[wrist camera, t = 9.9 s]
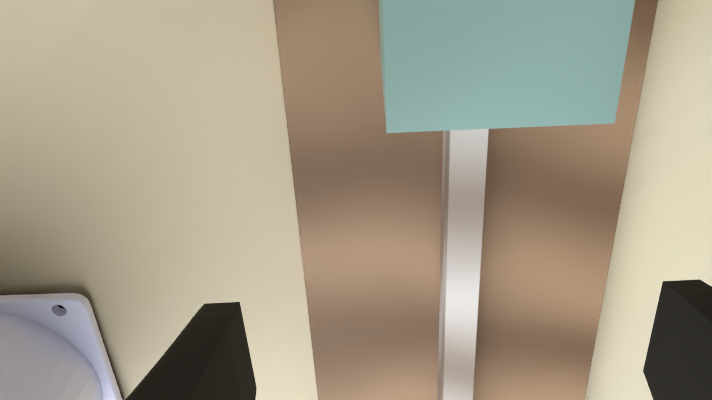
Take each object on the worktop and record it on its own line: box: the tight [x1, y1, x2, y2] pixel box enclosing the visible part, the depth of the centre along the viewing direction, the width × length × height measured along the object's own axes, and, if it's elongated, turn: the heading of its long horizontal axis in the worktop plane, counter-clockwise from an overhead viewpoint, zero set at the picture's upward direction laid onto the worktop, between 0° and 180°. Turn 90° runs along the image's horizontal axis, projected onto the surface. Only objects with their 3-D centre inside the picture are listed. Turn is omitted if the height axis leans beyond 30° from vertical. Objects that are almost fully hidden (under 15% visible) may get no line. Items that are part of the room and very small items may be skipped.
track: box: [273, 0, 658, 400], centre depth 19 cm, size 26×10×4 cm, turn 3°
